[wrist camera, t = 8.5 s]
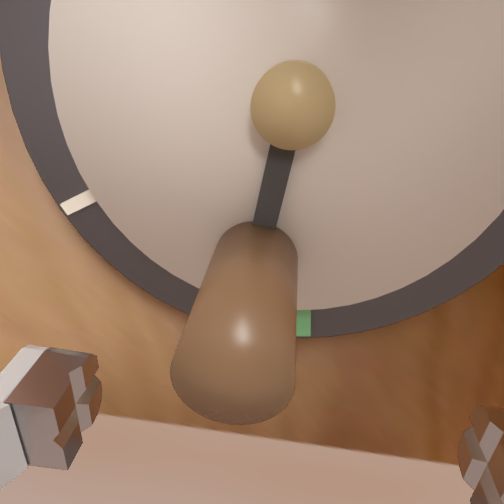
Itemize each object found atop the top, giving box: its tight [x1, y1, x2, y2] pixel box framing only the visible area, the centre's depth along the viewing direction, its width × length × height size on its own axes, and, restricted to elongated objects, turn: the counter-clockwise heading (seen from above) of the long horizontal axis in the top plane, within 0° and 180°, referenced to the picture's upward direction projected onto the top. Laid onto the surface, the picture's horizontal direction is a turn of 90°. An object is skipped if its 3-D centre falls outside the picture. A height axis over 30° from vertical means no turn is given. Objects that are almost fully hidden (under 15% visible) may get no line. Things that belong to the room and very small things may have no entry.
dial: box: [48, 0, 504, 425], centre depth 11 cm, size 17×15×7 cm
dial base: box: [0, 0, 504, 338], centre depth 15 cm, size 20×20×2 cm
